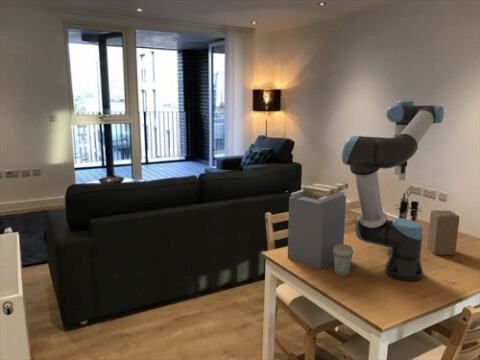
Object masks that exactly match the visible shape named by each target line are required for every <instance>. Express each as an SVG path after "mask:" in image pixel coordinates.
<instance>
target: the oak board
mask: <svg viewBox="0 0 480 360" xmlns="http://www.w3.org/2000/svg"><path fill="white" fill-rule="evenodd" d="M347 189H349V183H348V182H343V181H341V182H338V183H334V184H325V183H321V182H320V183H318V182H316V183H314V184H310V185H306V186H303V189H302V190H303V196H308V197H313V198H318V199H319V198H322V197H325V196H328V195H331V194H334V193H337V192H340V191H345V190H347Z"/></svg>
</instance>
